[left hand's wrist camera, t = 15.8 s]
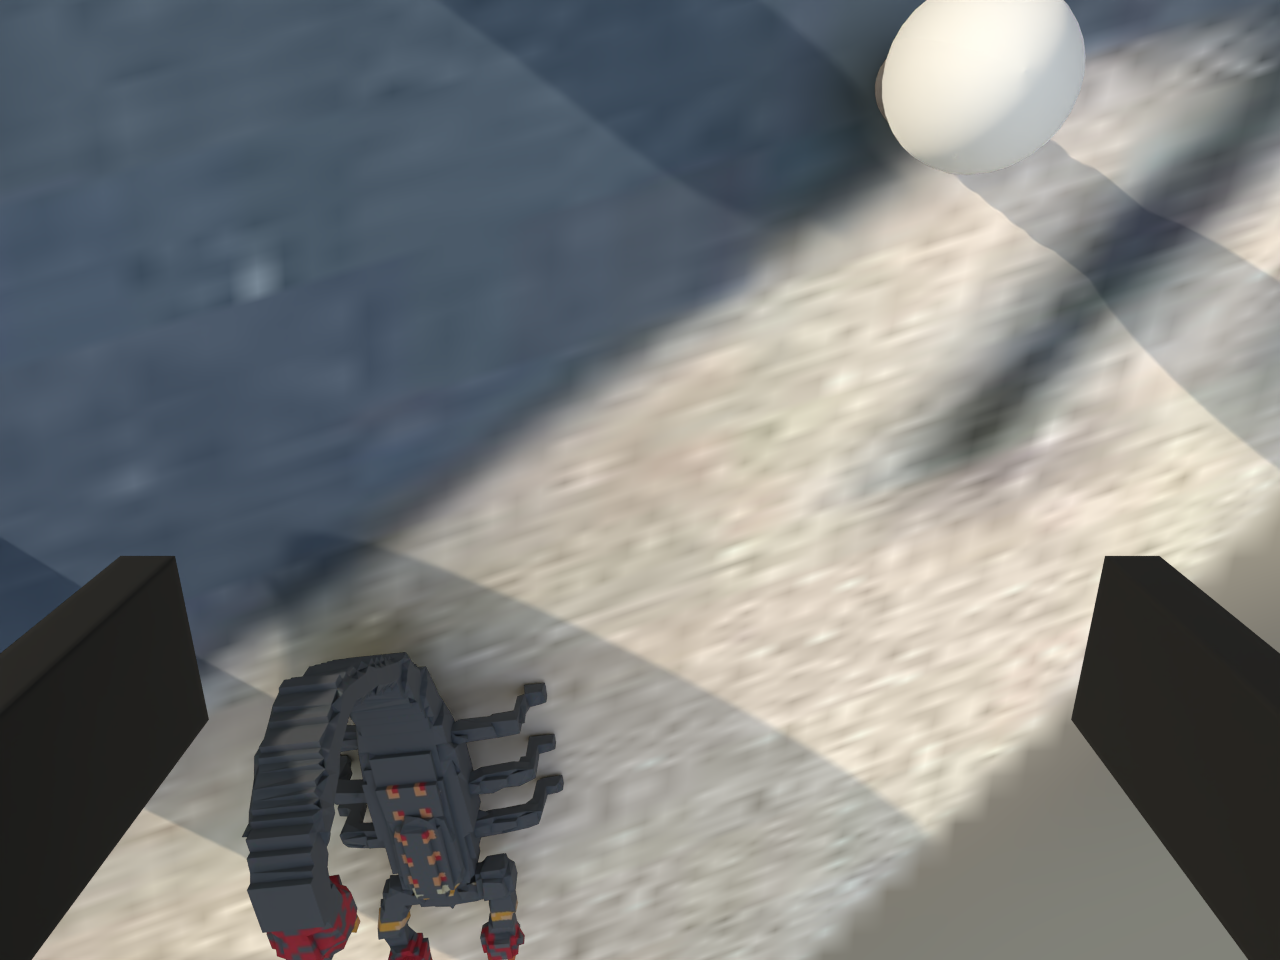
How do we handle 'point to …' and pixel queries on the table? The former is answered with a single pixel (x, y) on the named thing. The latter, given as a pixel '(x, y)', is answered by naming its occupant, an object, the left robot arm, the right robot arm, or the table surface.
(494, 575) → the table surface
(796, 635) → the table surface
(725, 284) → the table surface
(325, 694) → the toy
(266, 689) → the table surface
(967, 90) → the light bulb
